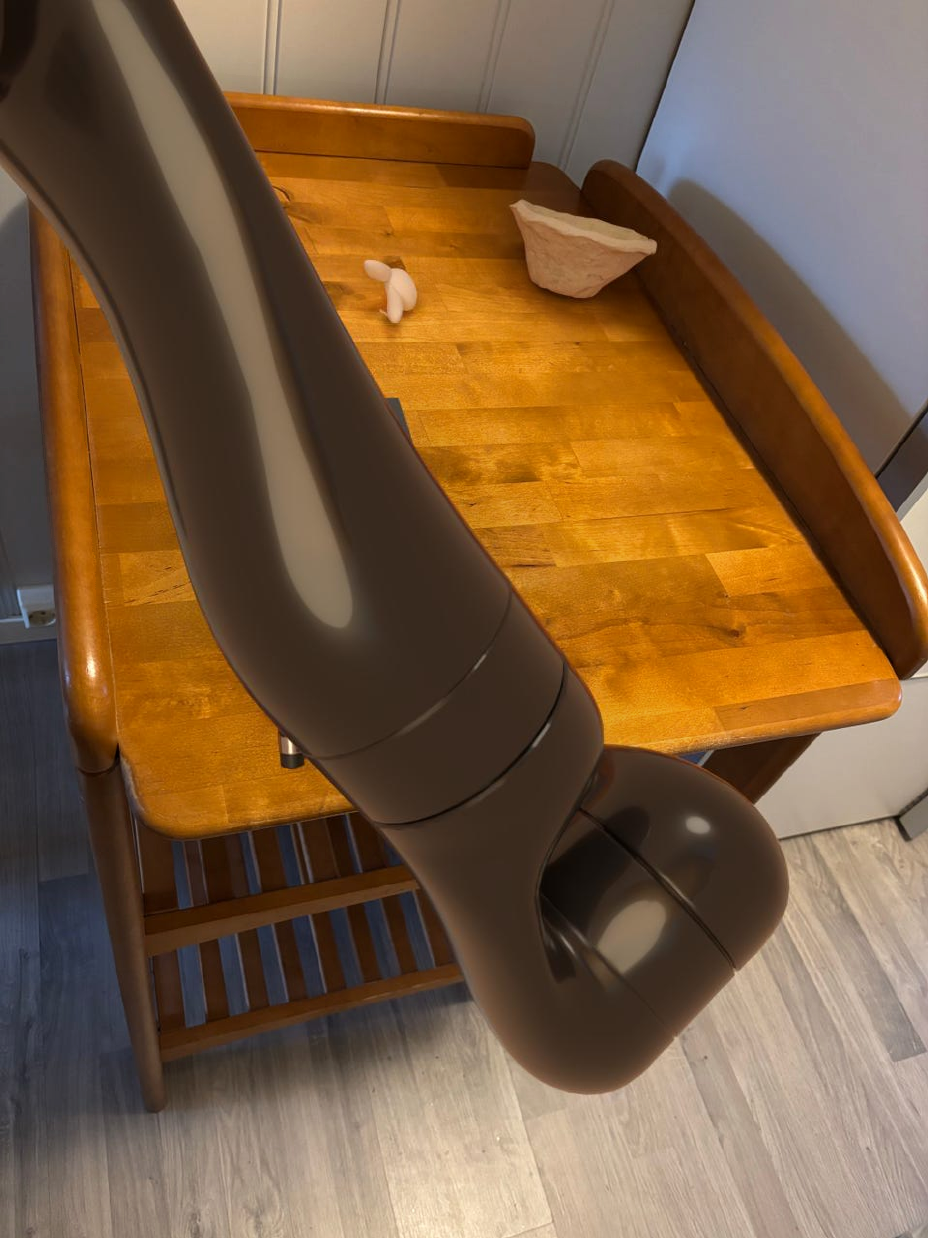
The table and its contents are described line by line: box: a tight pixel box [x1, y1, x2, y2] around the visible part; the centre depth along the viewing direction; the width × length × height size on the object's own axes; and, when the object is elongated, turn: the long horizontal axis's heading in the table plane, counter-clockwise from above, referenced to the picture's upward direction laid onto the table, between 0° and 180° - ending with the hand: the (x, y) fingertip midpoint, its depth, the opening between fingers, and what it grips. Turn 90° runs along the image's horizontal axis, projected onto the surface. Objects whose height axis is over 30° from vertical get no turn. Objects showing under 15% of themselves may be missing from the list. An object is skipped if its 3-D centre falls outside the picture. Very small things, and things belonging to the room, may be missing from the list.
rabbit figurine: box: [363, 259, 418, 324], centre depth 92 cm, size 6×4×8 cm
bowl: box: [509, 199, 658, 299], centre depth 99 cm, size 15×14×10 cm
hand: (363, 689), depth 62 cm, fingers closed on drawer, 6 cm apart
